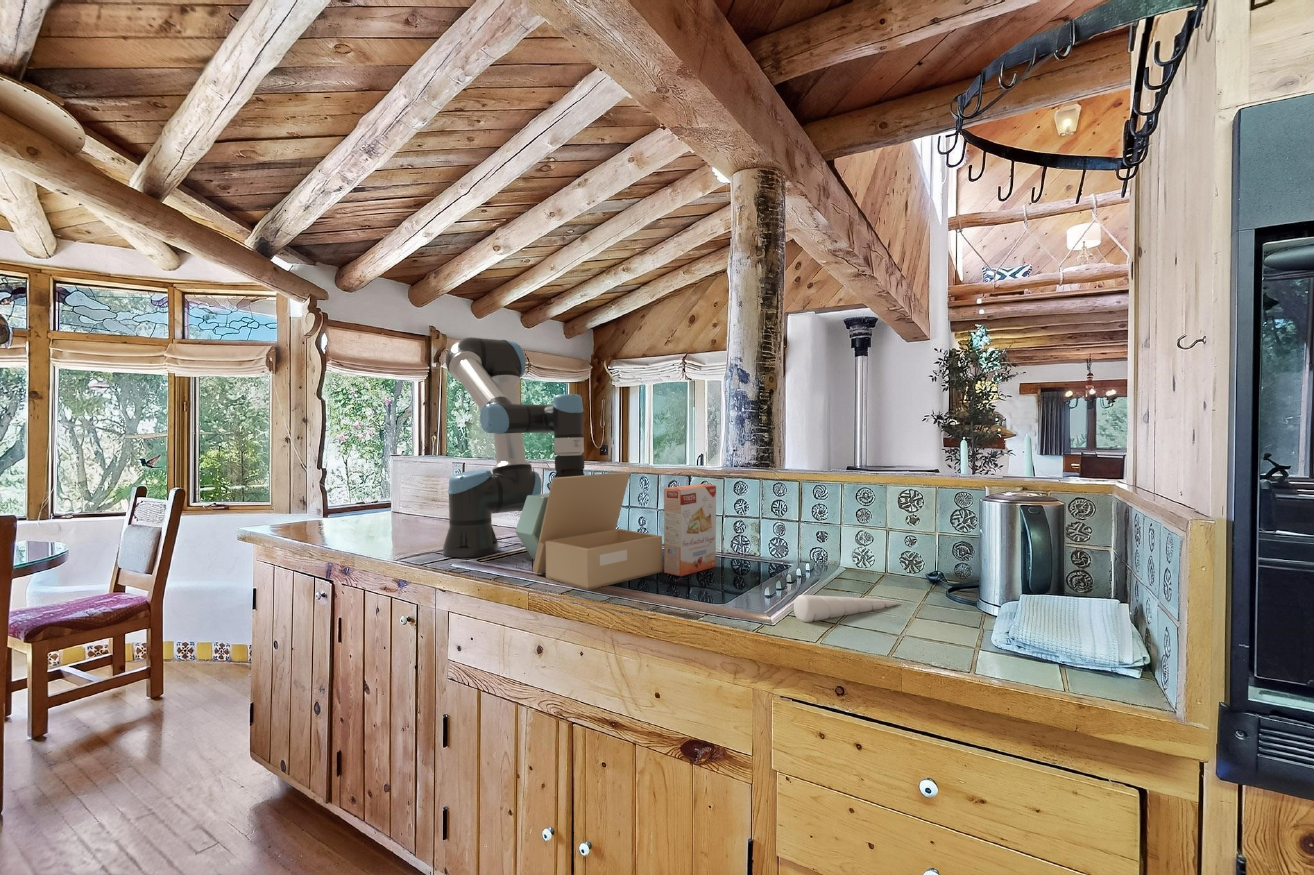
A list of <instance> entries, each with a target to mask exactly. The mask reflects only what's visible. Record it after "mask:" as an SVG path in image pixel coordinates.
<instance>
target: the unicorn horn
mask: <svg viewBox="0 0 1314 875" xmlns="http://www.w3.org/2000/svg"><path fill="white" fill-rule="evenodd" d="M899 604H900V602H899V601H897V600H896V601H895V600H890V599H889V600H888V599H878V598H868V597H867V598H863V597H852V596H851V597H850V596H849V597H847V596H831V595H814V594H813V595H812V594H811V595H810V594H800V595H798V596H796V598H795V599H794V603H793V611H794V612H793V613H794V615H795V618H796V619H797V620H799V621H800V622H804V623H812V622H813V621H814V622H817V621H823V620H828V619H833V618H834V619H835V618H839V617H840V618H841V617H843V616H851V615H855V614H858V613H861V614H862V613H865V612H871V611H875V610H880V609H885V608H890V607H894V606H897V605H899Z"/></svg>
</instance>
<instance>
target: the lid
mask: <svg viewBox="0 0 1314 875" xmlns="http://www.w3.org/2000/svg"><path fill="white" fill-rule="evenodd" d="M630 476H631V472H630V471H623V472H612V473H611V472H610V473H598V474H586V475H585V474H584V475H583V476H570V477H558V478H555V477H552V479H551V482H552V483H551V482H550V483H551V488H550V491H549V492H548V493H549V497H548V501H547V506H546V510H545V515H544V519H543V524H542V529H541V533H540V538H539V542H538V547H537V551H536V556H535V559H533V560H534V561H533V566H532V571H533V572H534V573H535V574H536V575H540V574H546V543H545V541H548V540H554V539H560V538H566V537H572V536H578V535H584V534H590V533H597V532H603V531H609V530H615V529H617V525H618V521H619V518H620V515H621V510H622V506H623V502H624V499H625V498H624V497H625V496H626V491H627V487H628V482H629V479H630Z"/></svg>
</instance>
